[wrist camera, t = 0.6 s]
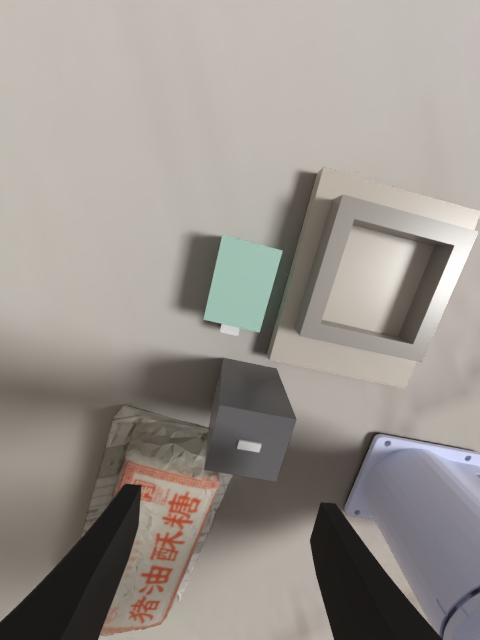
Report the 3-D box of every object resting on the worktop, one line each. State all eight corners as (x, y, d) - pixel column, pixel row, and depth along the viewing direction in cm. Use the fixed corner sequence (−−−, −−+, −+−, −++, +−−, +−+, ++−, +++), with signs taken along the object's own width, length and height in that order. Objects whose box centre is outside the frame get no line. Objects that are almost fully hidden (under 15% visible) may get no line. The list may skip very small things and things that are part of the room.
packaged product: (89, 443, 15) (250, 484, 16) (122, 398, 20) (245, 432, 21) (38, 641, 19) (171, 662, 20) (76, 565, 24) (181, 586, 25)
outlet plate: (464, 214, 17) (507, 207, 14) (395, 380, 20) (420, 400, 17) (317, 173, 16) (334, 157, 13) (266, 353, 19) (272, 370, 16)
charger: (276, 368, 19) (296, 420, 13) (262, 415, 20) (276, 483, 14) (223, 357, 19) (219, 406, 13) (211, 405, 20) (203, 471, 14)
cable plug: (275, 250, 17) (282, 250, 15) (253, 332, 19) (256, 344, 16) (223, 236, 17) (222, 234, 14) (204, 321, 18) (200, 332, 16)
